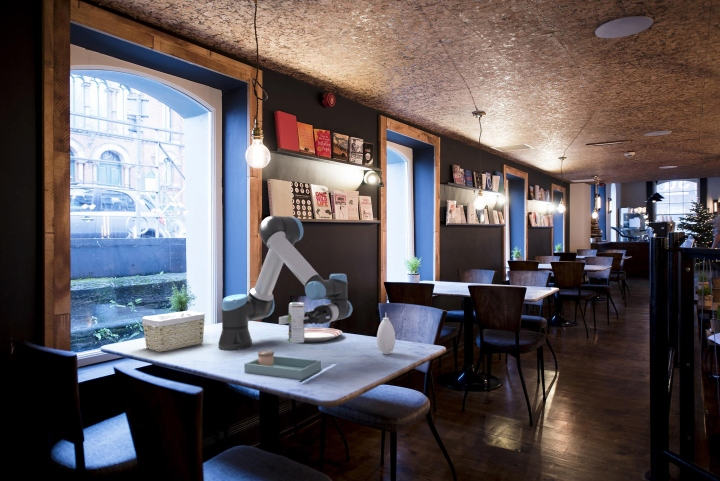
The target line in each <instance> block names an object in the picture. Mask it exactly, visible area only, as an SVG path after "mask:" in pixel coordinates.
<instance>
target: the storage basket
mask: <svg viewBox="0 0 720 481" xmlns="http://www.w3.org/2000/svg"><path fill="white" fill-rule="evenodd" d="M205 318H206V315H205V313H204V312H198V311H192V310H184V311H177V312H170V313H164V314H156V315H146V316H145V315H144V316H143V317H141V320H142V322H141V323H142V326H143V332H144V340H145V341H144V342H145V347H146V349H148V348H149V349H148V350H152V351H154V350H155V351H154V352H157V351H158V353H159V352H163V351H164V352H168V351H173V350H178V349H182V348H187V347H191V346H195V345H199V344H203V343H204V329H205V328H204V327H205Z"/></svg>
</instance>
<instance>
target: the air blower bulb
mask: <svg viewBox="0 0 720 481" xmlns="http://www.w3.org/2000/svg"><path fill="white" fill-rule="evenodd" d="M384 314H385V317H383V318H382V320H381V322H380V324H379V326H378V330H377V333H376V344H377V347H378V348H377V349H379V351H380V352H381V353H382V354H383V355H389V354H391V352H393V351H394V349H395V346H396V333H395V329H394V327H393V324H392V322H391V321H390V318H389V317H387V312H385V313H384Z"/></svg>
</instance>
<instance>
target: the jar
mask: <svg viewBox="0 0 720 481" xmlns="http://www.w3.org/2000/svg"><path fill="white" fill-rule="evenodd" d="M257 356H258V358H257V359H258V362H259V365H264V366H273V367H274V364H273V356H275V352H274V351H273V350H261V351H258V352H257Z"/></svg>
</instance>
